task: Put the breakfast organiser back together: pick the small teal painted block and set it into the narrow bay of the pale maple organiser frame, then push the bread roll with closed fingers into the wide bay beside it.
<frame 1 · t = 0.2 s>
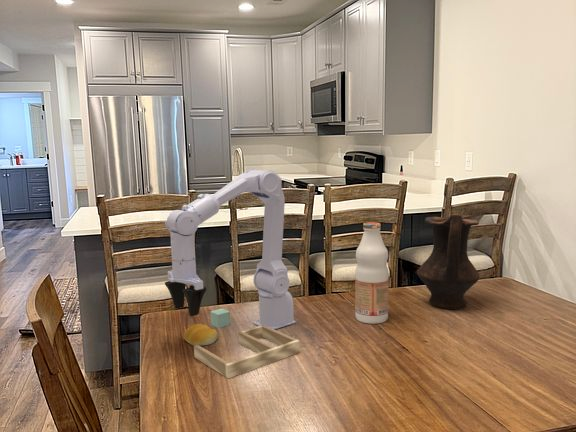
hand: (186, 311, 131), 10 cm above the table, tool pointing down, fingers open, 7 cm apart
fruit juice: (371, 319, 151), on the table
jug: (447, 306, 162), on the table
teal block: (220, 324, 149), on the table
organiser frame: (244, 354, 128), on the table
bread roll: (200, 341, 138), on the table
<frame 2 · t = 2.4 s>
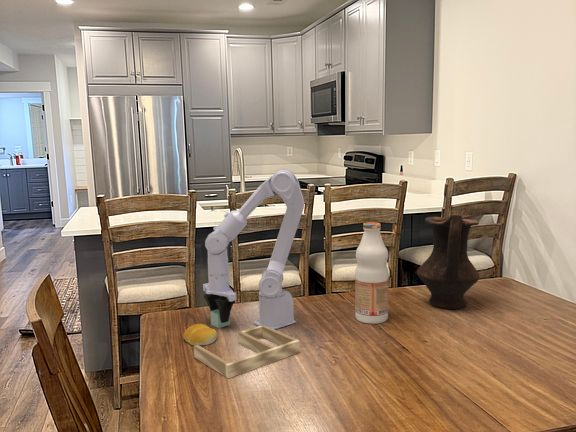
hand: (220, 319, 149), 1 cm above the table, tool pointing down, fingers closed on teal block, 4 cm apart
teal block: (220, 324, 149), on the table, touching gripper
everything else where it was.
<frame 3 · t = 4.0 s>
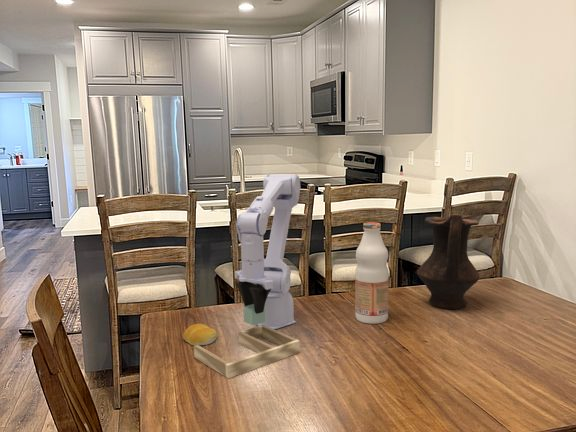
hand: (254, 310, 135), 8 cm above the table, tool pointing down, fingers closed on teal block, 4 cm apart
teal block: (254, 321, 135), point 5 cm above the table, touching gripper
everything else where it was.
when the fingers open (3 cm above the table, at t = 5.6 s): teal block stays where it is, resting in organiser frame.
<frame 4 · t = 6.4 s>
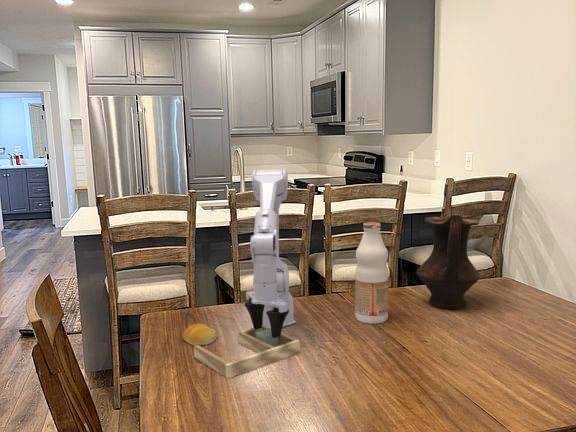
hand: (267, 332, 132), 4 cm above the table, tool pointing down, fingers open, 7 cm apart
teal block: (267, 347, 132), resting in organiser frame
everything else where it was.
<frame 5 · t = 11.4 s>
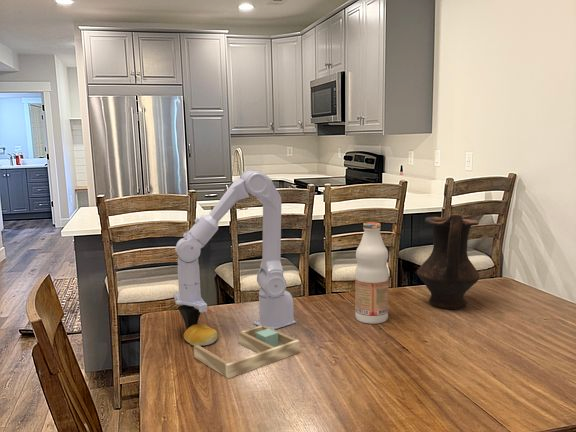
hand: (191, 331, 142), 1 cm above the table, tool pointing down, fingers closed
bread roll: (200, 341, 138), on the table, touching gripper
everything else where it was.
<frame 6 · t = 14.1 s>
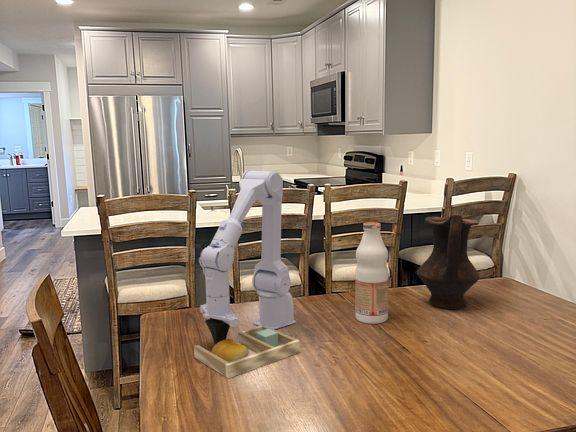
hand: (220, 346, 131), 1 cm above the table, tool pointing down, fingers closed
bread roll: (229, 358, 127), on the table, touching gripper
everything else where it was.
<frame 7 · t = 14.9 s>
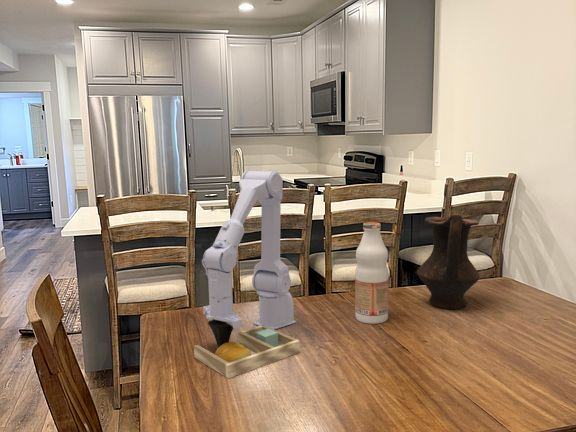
hand: (223, 348, 130), 1 cm above the table, tool pointing down, fingers closed
bread roll: (233, 361, 126), on the table
everything else where it was.
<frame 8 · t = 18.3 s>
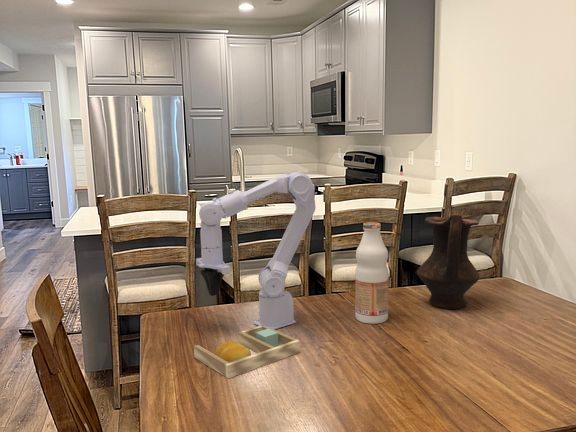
hand: (213, 294, 144), 10 cm above the table, tool pointing down, fingers closed
nothing on the table moved.
at the end: bread roll inside the target area (0.7 cm from its centre), on the table; teal block inside the target area (0.5 cm from its centre), resting in organiser frame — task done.
